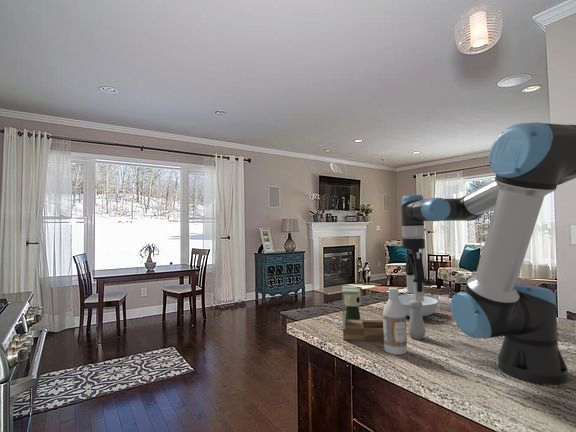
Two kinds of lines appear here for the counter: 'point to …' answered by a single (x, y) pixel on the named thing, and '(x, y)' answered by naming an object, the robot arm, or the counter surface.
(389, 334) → the bath foam
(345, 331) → the socket station
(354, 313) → the character mug
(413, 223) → the robot arm
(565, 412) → the counter surface
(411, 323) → the salt shaker
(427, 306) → the serving bowl
